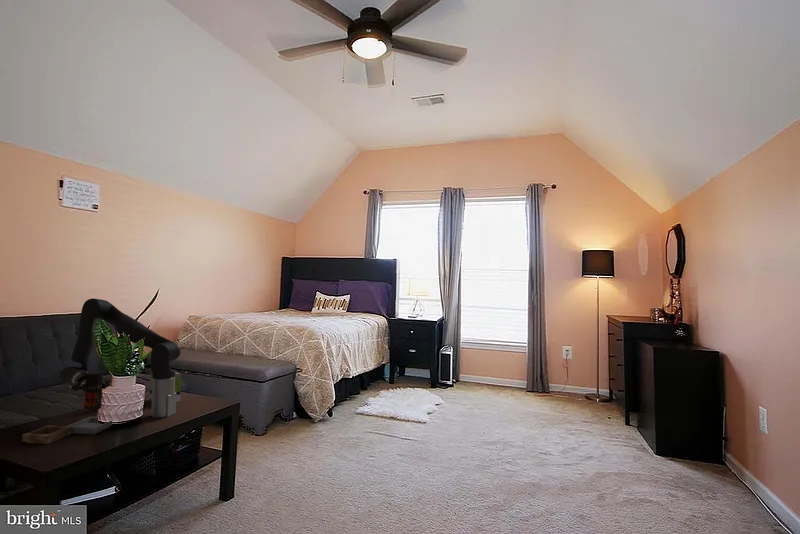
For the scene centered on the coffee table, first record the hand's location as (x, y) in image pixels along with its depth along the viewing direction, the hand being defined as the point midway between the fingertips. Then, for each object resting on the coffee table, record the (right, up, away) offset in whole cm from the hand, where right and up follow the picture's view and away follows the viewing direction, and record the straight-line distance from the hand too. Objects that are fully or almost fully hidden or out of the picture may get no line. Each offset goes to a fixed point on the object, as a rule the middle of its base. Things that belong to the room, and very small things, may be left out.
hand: (95, 387), depth 175 cm
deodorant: (-2, -9, +1) cm, 10 cm away
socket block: (-11, -17, -11) cm, 23 cm away
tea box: (+5, -19, +43) cm, 47 cm away
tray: (-2, -17, +1) cm, 17 cm away
